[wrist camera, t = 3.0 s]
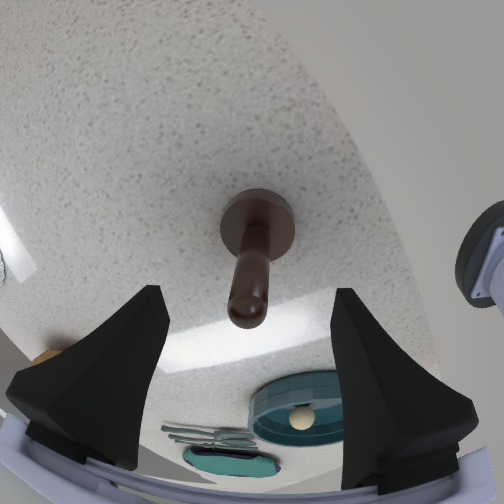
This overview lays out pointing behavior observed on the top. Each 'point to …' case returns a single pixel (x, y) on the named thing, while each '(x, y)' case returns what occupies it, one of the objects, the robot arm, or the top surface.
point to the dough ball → (301, 417)
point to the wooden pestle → (254, 250)
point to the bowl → (291, 396)
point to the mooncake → (1, 271)
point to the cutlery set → (225, 454)
